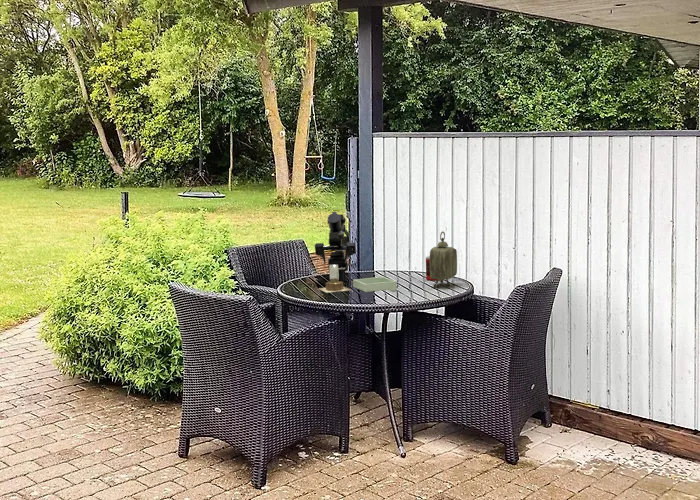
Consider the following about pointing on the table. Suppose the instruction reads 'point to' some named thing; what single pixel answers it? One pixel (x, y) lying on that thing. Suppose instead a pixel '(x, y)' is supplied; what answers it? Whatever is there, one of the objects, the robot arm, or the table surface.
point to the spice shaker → (334, 274)
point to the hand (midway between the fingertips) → (334, 263)
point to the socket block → (334, 287)
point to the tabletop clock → (443, 262)
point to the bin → (375, 284)
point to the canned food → (428, 269)
